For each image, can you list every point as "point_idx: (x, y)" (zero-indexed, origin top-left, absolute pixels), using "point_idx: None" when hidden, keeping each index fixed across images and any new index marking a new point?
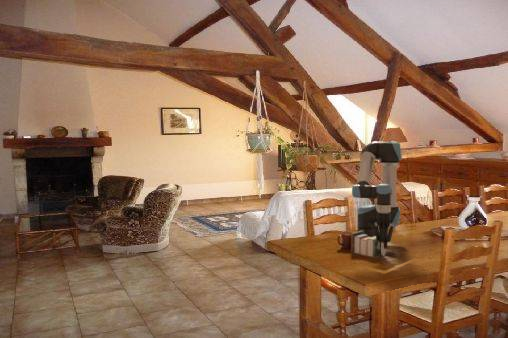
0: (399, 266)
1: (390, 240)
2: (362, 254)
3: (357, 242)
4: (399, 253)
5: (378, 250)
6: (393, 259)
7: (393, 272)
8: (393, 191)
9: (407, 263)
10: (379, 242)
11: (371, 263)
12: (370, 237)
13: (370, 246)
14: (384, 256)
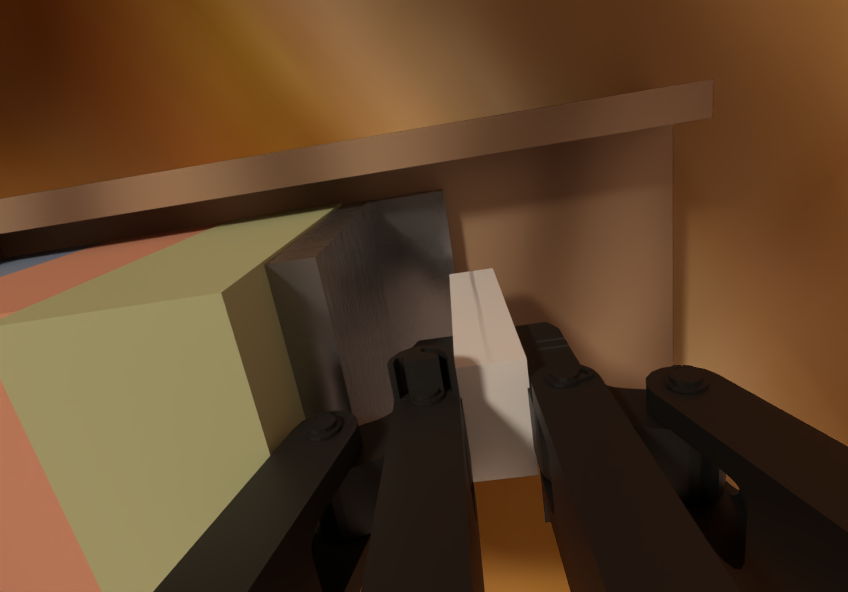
0: (791, 349)
1: (734, 394)
2: None
3: None
4: (701, 101)
5: (382, 347)
6: (648, 270)
7: None
8: None
9: (818, 144)
10: (351, 392)
11: (476, 499)
12: (86, 554)
13: None
14: (456, 248)
